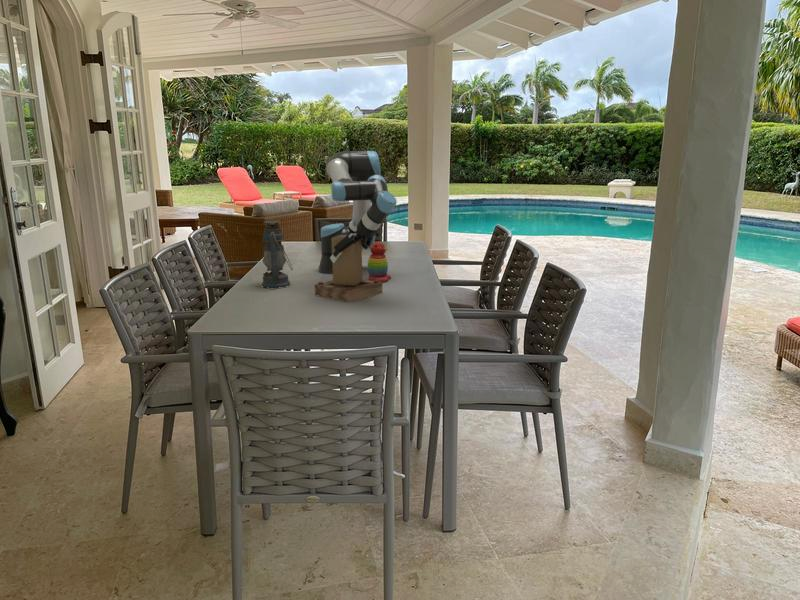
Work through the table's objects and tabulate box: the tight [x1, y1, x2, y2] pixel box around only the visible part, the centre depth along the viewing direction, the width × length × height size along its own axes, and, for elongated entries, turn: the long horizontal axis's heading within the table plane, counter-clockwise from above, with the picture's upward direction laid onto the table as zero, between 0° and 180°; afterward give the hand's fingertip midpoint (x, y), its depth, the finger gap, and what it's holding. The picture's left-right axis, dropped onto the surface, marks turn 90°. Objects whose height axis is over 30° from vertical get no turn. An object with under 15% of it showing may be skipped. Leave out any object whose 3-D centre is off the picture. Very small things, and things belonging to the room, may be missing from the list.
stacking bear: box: [367, 241, 392, 283], centre depth 279 cm, size 11×10×18 cm
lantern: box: [261, 218, 294, 289], centre depth 268 cm, size 19×14×30 cm
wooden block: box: [331, 235, 363, 286], centre depth 250 cm, size 10×10×20 cm
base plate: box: [314, 278, 383, 303], centre depth 253 cm, size 20×20×6 cm
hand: (343, 258), depth 251 cm, fingers closed on wooden block, 12 cm apart
